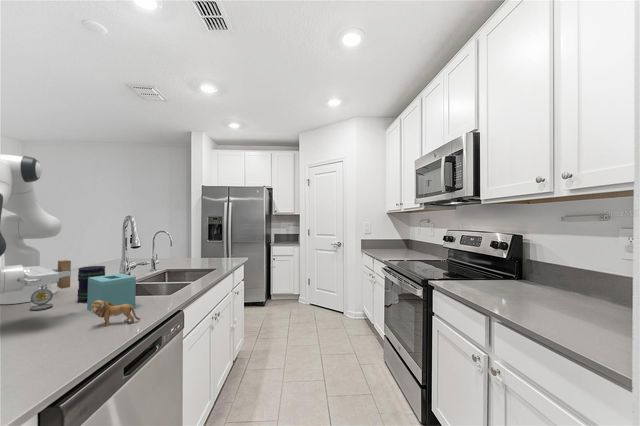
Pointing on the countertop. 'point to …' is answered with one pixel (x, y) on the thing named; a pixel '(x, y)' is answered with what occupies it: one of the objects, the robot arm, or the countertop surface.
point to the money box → (112, 289)
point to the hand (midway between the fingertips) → (67, 272)
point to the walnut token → (62, 266)
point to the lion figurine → (112, 311)
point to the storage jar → (83, 280)
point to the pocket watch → (41, 304)
